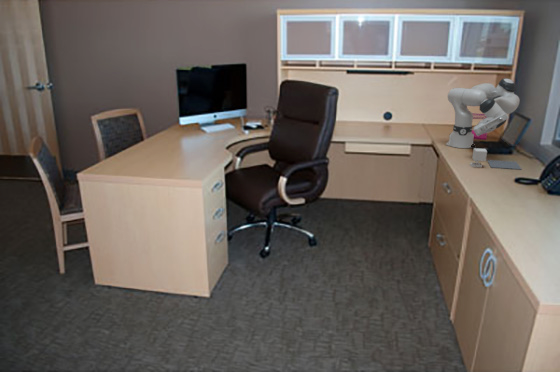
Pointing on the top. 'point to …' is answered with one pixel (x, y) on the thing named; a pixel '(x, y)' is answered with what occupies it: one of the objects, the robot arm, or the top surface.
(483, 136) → the file sorter
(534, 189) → the top surface
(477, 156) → the security camera
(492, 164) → the desk pad
